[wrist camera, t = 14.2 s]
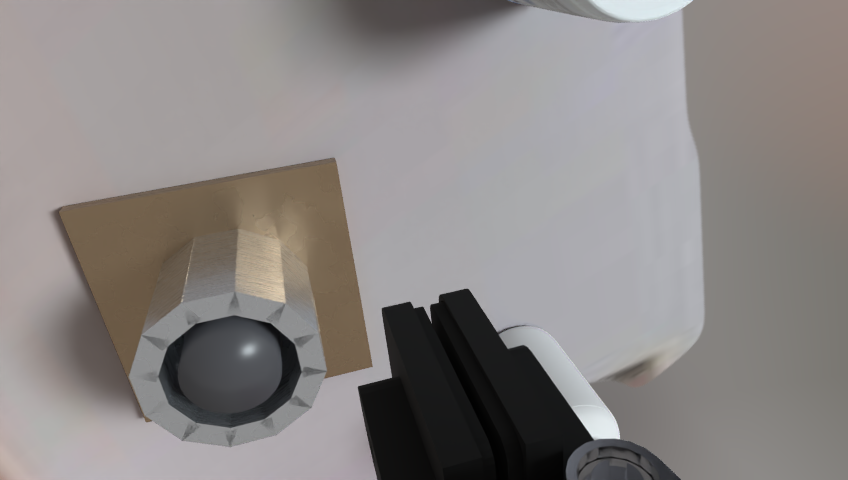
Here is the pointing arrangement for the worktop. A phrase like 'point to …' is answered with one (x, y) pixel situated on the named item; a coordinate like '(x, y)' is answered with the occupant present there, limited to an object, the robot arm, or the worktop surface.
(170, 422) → the ball socket mount
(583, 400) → the pill bottle
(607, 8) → the supplement tub
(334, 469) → the worktop surface
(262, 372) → the cap
